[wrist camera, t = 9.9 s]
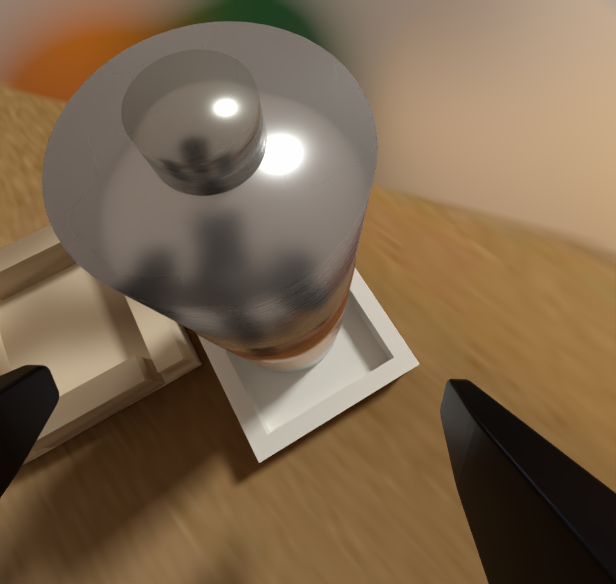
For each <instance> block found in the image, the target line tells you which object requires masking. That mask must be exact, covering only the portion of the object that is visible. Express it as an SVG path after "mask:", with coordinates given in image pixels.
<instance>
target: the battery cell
mask: <svg viewBox="0 0 616 584" xmlns="http://www.w3.org/2000/svg"><path fill="white" fill-rule="evenodd" d="M376 134H377V133H376V126H375V122H374V118H373V114H372V110H371V108H370V106H369V103H368V101H367V99H366V96H365V94H364V93H363V91H362V89H361V88H360V86H359V84H358V83H357V81H356V79H355V78H354V77H353V76H352V75H351V74H350V72H349V71H348V70H347V69H346V67H345V66H344V65H342V64H341V63H340V62H339V61H338V60H337V59H336V58H335V57H334V56H332V55H331V54H330V53H329V52H327V51H326V50H324V49H323V48H321V47H320V46H318V45H317V44H315V43H313V42H311V41H309V40H307V39H305V38H304V37H302V36H299V35H296V34H294V33H291V32H289V31H286V30H283V29H279V28H276V27H272V26H268V25H262V24H255V23H249V22H231V21H229V22H209V23H202V24H196V25H190V26H185V27H181V28H177V29H173V30H170V31H167V32H164V33H161V34H158V35H155V36H153V37H150V38H148V39H146V40H144V41H142V42H139V43H137V44H135V45H134V46H132V47H130V48H128V49H127V50H125V51H123V52H121V53H119V54H118V55H117V56H115V57H114V58H112V59H111V60H110V61H108V62H107V63H105V64H104V65H103V66H102V67H100V68H99V69H98V70H97V71H96V72H95V73H94V74H92V75H91V76H90V77H89V78H88V79H87V80H86V81H85V83H83V85H82V86H81V87H80V88H79V89H78V90H77V91H76V92H75V94H74V95H73V96H72V98H71V99H70V100H69V102H68V103H67V105H66V106H65V107H64V109H63V111H62V113H61V115H60V116H59V118H58V120H57V122H56V123H55V126H54V128H53V131H52V133H51V136H50V138H49V141H48V145H47V149H46V153H45V157H44V163H43V173H42V185H43V198H44V203H45V207H46V212H47V215H48V218H49V220H50V223H51V225H52V228H53V230H54V233H55V234H56V236H57V237H58V239H59V241H60V242H61V244H62V246H63V247H64V249H65V250H66V251H67V252H68V253H69V255H70V256H71V257H72V258H73V259H74V260H75V262H76V263H77V264H78V265H79V266H81V267H82V268H83V269H84V270H85V271H87V272H88V273H89V274H90V275H91V276H93V277H94V278H95V279H97V280H99V281H100V282H102V283H104V284H105V285H107V286H109V287H110V288H112V289H114V290H116V291H118V292H120V293H122V294H124V295H125V296H127V297H129V298H131V299H133V300H135V301H137V302H139V303H141V304H143V305H145V306H147V307H149V308H150V309H152V310H154V311H156V312H158V313H160V314H162V315H164V316H166V317H168V318H170V319H172V320H173V321H175V322H177V323H179V324H181V325H183V326H185V327H187V328H189V329H191V330H192V331H193V332H194V333H196V334H197V335H199V336H201V337H202V338H204V339H206V340H207V341H209V342H211V343H213V344H215V345H217V346H219V347H221V348H223V349H225V350H227V351H229V352H231V353H233V354H235V355H237V356H239V357H241V358H243V359H245V360H247V361H249V362H251V363H253V364H256V365H258V366H260V367H264V368H266V369H268V370H271V371H275V372H280V373H294V372H299V371H303V370H306V369H308V368H310V367H312V366H314V365H315V364H317V363H318V362H320V361H321V360H322V359H323V358H324V357H325V356H326V355H327V354H328V353H329V351H330V350H331V348H332V347H333V345H334V343H335V340H336V338H337V335H338V332H339V329H340V327H341V323H342V319H343V315H344V311H345V306H346V302H347V298H348V294H349V290H350V286H351V282H352V278H353V274H354V269H355V261H356V252H357V248H358V243H359V239H360V235H361V230H362V226H363V222H364V217H365V213H366V208H367V204H368V200H369V195H370V191H371V187H372V182H373V178H374V174H375V169H376V162H377V149H378V146H377V135H376Z"/></svg>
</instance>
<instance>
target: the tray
mask: <svg viewBox="0 0 616 584" xmlns="http://www.w3.org/2000/svg"><path fill="white" fill-rule="evenodd" d="M198 337H199V339H200V341H201V344H202V346H203V348H204V350H205V352H206V354H207V356H208V358H209V360H210V362H211V364H212V366H213V368H214V371H215V373H216V375H217V377H218V379H219V381H220V383H221V385H222V387H223V389H224V391H225V393H226V396H227V398H228V400H229V402H230V404H231V406H232V408H233V410H234V412H235V414H236V416H237V418H238V420H239V423H240V425H241V427H242V429H243V431H244V433H245V435H246V437H247V439H248V441H249V443H250V445H251V447H252V450H253V452H254V454H255V456H256V458H257V460H258V462H259V463H260V462H262V461H263V460H265V459H267V458H268V457H270V456H271V455H273V454H275V453H276V452H278V451H280V450H281V449H283V448H284V447H286V446H288V445H289V444H291V443H293V442H294V441H296V440H297V439H299V438H301V437H302V436H304V435H305V434H307V433H309V432H310V431H312V430H314V429H315V428H317V427H318V426H320V425H322V424H323V423H325V422H327V421H328V420H330V419H331V418H333V417H335V416H336V415H338V414H340V413H341V412H343V411H344V410H346V409H348V408H349V407H351V406H352V405H354V404H356V403H357V402H359V401H361V400H362V399H364V398H365V397H367V396H369V395H370V394H372V393H374V392H375V391H377V390H378V389H380V388H382V387H383V386H385V385H387V384H388V383H390V382H391V381H393V380H395V379H396V378H398V377H399V376H401V375H403V374H404V373H406V372H408V371H409V370H411V369H412V368H414V367H416V366H417V365H419V362H418V361H417V359H416V358H415V356H414V355H413V353H412V352H411V350H410V349H409V347H408V346H407V344H406V343H405V341H404V340H403V338H402V337H401V335H400V334H399V332H398V331H397V329H396V328H395V326H394V325H393V323H392V322H391V321H390V319H389V318H388V316H387V315H386V313H385V312H384V310H383V309H382V307H381V306H380V304H379V303H378V301H377V300H376V298H375V297H374V295H373V294H372V292H371V291H370V289H369V288H368V286H367V285H366V283H365V282H364V280H363V279H362V277H361V276H360V274H359V273H358V271H357V270H356V268H355V269H354V274H353V278H352V282H351V286H350V290H349V294H348V298H347V302H346V306H345V311H344V315H343V319H342V323H341V327H340V329H339V332H338V335H337V338H336V340H335V343H334V345H333V347H332V348H331V350H330V351H329V353H328V354H327V355H326V356H325V357H324V358H323V359H322V360H321V361H320V362H318V363H317V364H315V365H314V366H312V367H310V368H308V369H306V370H303V371H299V372H294V373H280V372H275V371H271V370H268V369H266V368H264V367H260V366H258V365H256V364H253V363H251V362H249V361H247V360H245V359H243V358H241V357H239V356H237V355H235V354H233V353H231V352H229V351H227V350H225V349H223V348H221V347H219V346H217V345H215V344H213V343H211V342H209V341H207V340H206V339H204V338H202V337H201V336H199V335H198Z"/></svg>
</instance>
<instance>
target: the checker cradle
mask: <svg viewBox="0 0 616 584" xmlns="http://www.w3.org/2000/svg"><path fill="white" fill-rule="evenodd" d="M24 365H44V366H47V367H48V368H49V369H50V371H51V374H52V376H53V378H54V381H55V383H56V386H57V388H58V390H59V401H58V403H57V405H56V407H55V409H54V411H53V412H52V414H51V416H50V418H49V419H48V421H47V423H46V425H45V427H44V428H43V430H42V432H41V434H40V435H39V437H38V439H37V441H36V442H35V444H34V446H33V448H32V449H31V451H30V453H29V455H28V457H27V458H26V460H25V462H24V463H23V465H25V464H27V463H29V462H30V461H32V460H34V459H36V458H37V457H39V456H41V455H43V454H44V453H46V452H48V451H50V450H52V449H53V448H55V447H57V446H59V445H60V444H62V443H64V442H66V441H68V440H69V439H71V438H73V437H75V436H76V435H78V434H80V433H82V432H83V431H85V430H87V429H89V428H91V427H92V426H94V425H96V424H98V423H99V422H101V421H103V420H105V419H106V418H108V417H110V416H112V415H114V414H115V413H117V412H119V411H121V410H122V409H124V408H126V407H128V406H129V405H131V404H133V403H135V402H137V401H138V400H140V399H142V398H144V397H145V396H147V395H149V394H151V393H153V392H154V391H156V390H158V389H160V388H161V387H163V386H165V385H167V384H168V383H170V382H172V381H174V380H176V379H177V378H179V377H181V376H183V375H184V374H186V373H188V372H190V371H191V370H193V369H195V368H197V367H199V366H200V365H202V363H201V361H200V359H199V357H198V355H197V353H196V351H195V348H194V346H193V344H192V342H191V340H190V338H189V336H188V334H187V331H186V329H185V327H184V326H183V325H181V324H179V323H177V322H175V321H173V320H172V319H170V318H168V317H166V316H164V315H162V314H160V313H158V312H156V311H154V310H152V309H150V308H149V307H147V306H145V305H143V304H141V303H139V302H137V301H135V300H133V299H131V298H129V297H127V296H125V295H124V294H122V293H120V292H118V291H116V290H114V289H112V288H110V287H109V286H107V285H105V284H104V283H102V282H100V281H99V280H97V279H95V278H94V277H93V276H91V275H90V274H89V273H88V272H87V271H85V270H84V269H83V268H82V267H81V266H79V265H78V264H77V263H76V262H75V260H74V259H73V258H72V257H71V256H70V255H69V253H68V252H67V251H66V250H65V249H64V247H63V246H62V244H61V242H60V241H59V239H58V237H57V236H56V234H55V233H54V230H53V228H52V225H51V224H50V225H48V226H46V227H44V228H42V229H40V230H38V231H36V232H34V233H32V234H30V235H28V236H25V237H23V238H21V239H19V240H17V241H15V242H13V243H11V244H9V245H7V246H5V247H3V248H1V249H0V376H1V375H3V374H5V373H8V372H10V371H12V370H15V369H17V368H19V367H22V366H24ZM23 465H22V466H23Z"/></svg>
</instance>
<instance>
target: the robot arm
mask: <svg viewBox="0 0 616 584" xmlns="http://www.w3.org/2000/svg"><path fill="white" fill-rule="evenodd" d="M58 401H59V390H58V388H57V386H56V383H55V381H54V378H53V376H52V374H51V371H50V369H49V368H48V367H47V366H44V365H24V366H22V367H19V368H17V369H15V370H12V371H10V372H8V373H5V374H3V375H1V376H0V498H1V496H2V495H3V493H4V492H5V490H6V489H7V488H8V486H9V485H10V483H11V482H12V480H13V479H14V477H15V476H16V474H17V473H18V471H19V470H20V468H21V467H22V465H23V463H24V462H25V460H26V458H27V457H28V455H29V453H30V451H31V449H32V448H33V446H34V444H35V442H36V441H37V439H38V437H39V435H40V434H41V432H42V430H43V428H44V427H45V425H46V423H47V421H48V419H49V418H50V416H51V414H52V412H53V411H54V409H55V407H56V405H57V403H58ZM440 414H441V420H442V425H443V429H444V434H445V438H446V443H447V447H448V452H449V456H450V461H451V465H452V470H453V474H454V479H455V483H456V487H457V490H458V493H459V496H460V500H461V503H462V506H463V509H464V512H465V515H466V518H467V521H468V524H469V526H470V529H471V532H472V535H473V538H474V541H475V544H476V547H477V550H478V553H479V556H480V559H481V562H482V565H483V568H484V571H485V574H486V577H487V580H488V583H489V584H616V493H615V492H614V491H612V490H611V489H610V488H608V487H607V486H606V485H604V484H603V483H602V482H601V481H599V480H598V479H597V478H595V477H594V476H593V475H591V474H590V473H589V472H588V471H586V470H585V469H584V468H582V467H581V466H580V465H578V464H577V463H576V462H575V461H573V460H572V459H571V458H569V457H568V456H567V455H565V454H564V453H563V452H562V451H560V450H559V449H558V448H556V447H555V446H554V445H553V444H551V443H550V442H549V441H547V440H546V439H545V438H543V437H542V436H541V435H540V434H538V433H537V432H536V431H534V430H533V429H532V428H530V427H529V426H528V425H527V424H525V423H524V422H523V421H521V420H520V419H519V418H517V417H516V416H515V415H514V414H512V413H511V412H510V411H508V410H507V409H506V408H504V407H503V406H502V405H501V404H499V403H498V402H497V401H495V400H494V399H493V398H492V397H490V396H489V395H488V394H486V393H485V392H484V391H482V390H481V389H480V388H479V387H477V386H476V385H475V384H473V383H472V382H471V381H469V380H466V379H449V380H448V381H447V383H446V386H445V390H444V395H443V399H442V403H441V409H440Z"/></svg>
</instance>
